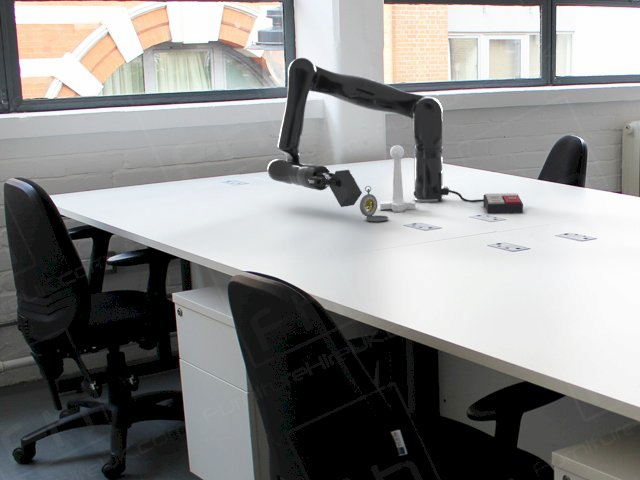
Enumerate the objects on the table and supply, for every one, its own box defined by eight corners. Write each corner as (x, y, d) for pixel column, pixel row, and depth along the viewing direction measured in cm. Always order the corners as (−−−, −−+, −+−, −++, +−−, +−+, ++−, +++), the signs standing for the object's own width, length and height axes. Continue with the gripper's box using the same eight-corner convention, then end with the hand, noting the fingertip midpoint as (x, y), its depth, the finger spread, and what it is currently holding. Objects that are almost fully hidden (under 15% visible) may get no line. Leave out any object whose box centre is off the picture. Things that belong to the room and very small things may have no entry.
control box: (487, 201, 324) (483, 192, 337) (487, 215, 325) (483, 205, 339) (523, 201, 324) (517, 191, 338) (522, 215, 325) (517, 204, 339)
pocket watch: (385, 222, 313) (384, 188, 310) (358, 222, 315) (357, 188, 311) (391, 218, 321) (390, 184, 317) (364, 217, 322) (363, 184, 319)
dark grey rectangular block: (340, 207, 321) (327, 184, 323) (353, 205, 324) (340, 182, 326) (349, 194, 316) (335, 171, 319) (362, 192, 319) (348, 169, 322)
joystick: (415, 207, 338) (414, 144, 331) (416, 211, 330) (415, 146, 324) (380, 208, 337) (379, 144, 331) (380, 212, 330) (379, 147, 323)
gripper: (294, 166, 326) (327, 172, 314) (331, 162, 335) (364, 167, 323) (295, 191, 329) (327, 197, 317) (331, 186, 338) (365, 192, 326)
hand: (346, 182), depth 320 cm, fingers closed on dark grey rectangular block, 5 cm apart
